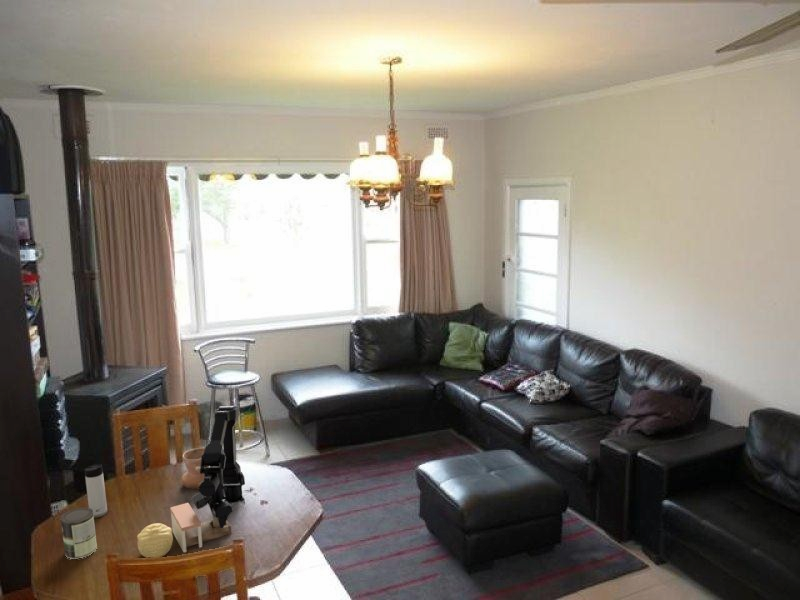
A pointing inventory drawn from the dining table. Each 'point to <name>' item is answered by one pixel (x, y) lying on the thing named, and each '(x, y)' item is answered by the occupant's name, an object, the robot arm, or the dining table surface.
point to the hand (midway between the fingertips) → (218, 522)
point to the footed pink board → (184, 523)
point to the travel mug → (96, 490)
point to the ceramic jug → (193, 468)
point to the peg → (215, 521)
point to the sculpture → (155, 540)
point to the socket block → (206, 532)
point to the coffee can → (78, 533)
